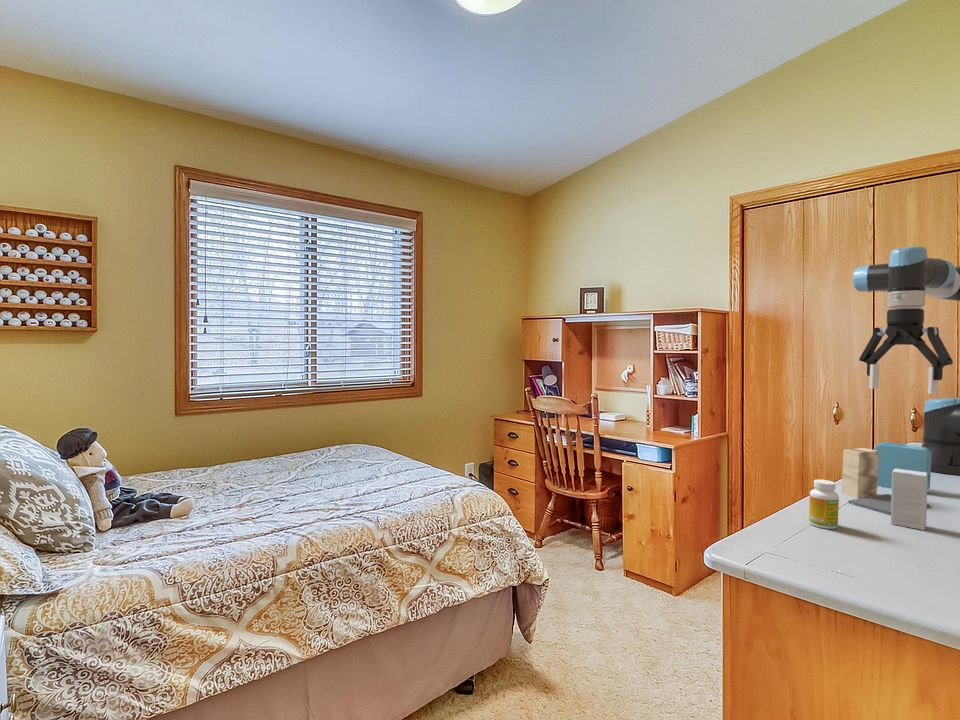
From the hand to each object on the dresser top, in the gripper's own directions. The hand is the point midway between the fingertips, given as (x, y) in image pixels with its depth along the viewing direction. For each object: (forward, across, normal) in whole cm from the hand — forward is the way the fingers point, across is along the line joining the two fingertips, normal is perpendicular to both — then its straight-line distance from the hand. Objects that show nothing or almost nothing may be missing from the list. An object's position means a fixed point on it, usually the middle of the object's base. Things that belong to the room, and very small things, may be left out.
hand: (901, 391), depth 139 cm
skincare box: (+28, +14, -21) cm, 38 cm away
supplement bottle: (+28, +7, -39) cm, 48 cm away
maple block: (+28, -5, -7) cm, 29 cm away
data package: (+28, -5, +11) cm, 31 cm away
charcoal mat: (+28, +3, -9) cm, 29 cm away
